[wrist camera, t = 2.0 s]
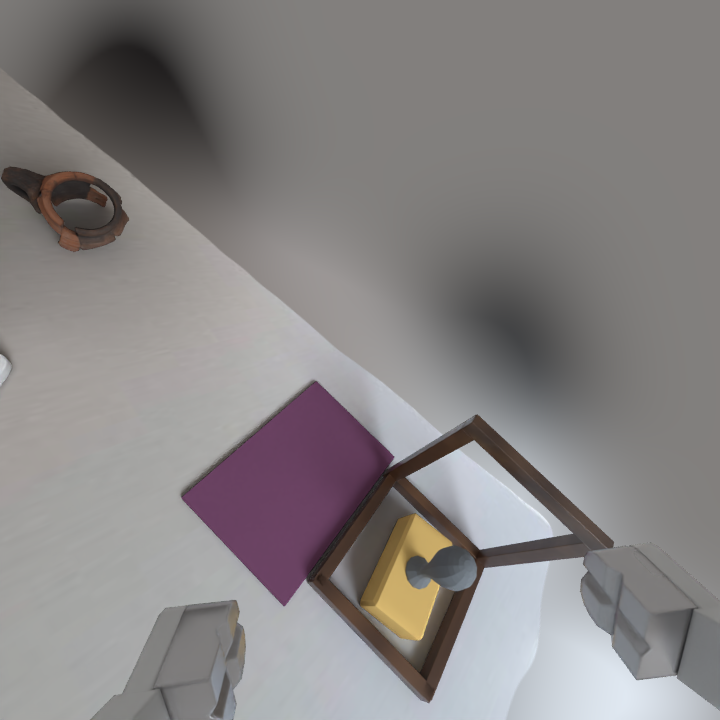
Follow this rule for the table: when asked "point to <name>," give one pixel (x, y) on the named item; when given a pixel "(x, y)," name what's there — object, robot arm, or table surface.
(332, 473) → the felt pad
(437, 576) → the rubber stamp
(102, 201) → the brown curved ring part
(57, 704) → the table surface
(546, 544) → the stamp rack
